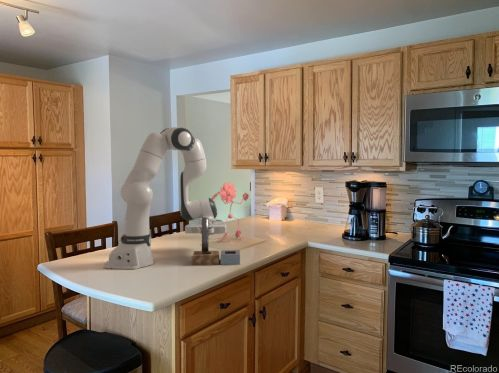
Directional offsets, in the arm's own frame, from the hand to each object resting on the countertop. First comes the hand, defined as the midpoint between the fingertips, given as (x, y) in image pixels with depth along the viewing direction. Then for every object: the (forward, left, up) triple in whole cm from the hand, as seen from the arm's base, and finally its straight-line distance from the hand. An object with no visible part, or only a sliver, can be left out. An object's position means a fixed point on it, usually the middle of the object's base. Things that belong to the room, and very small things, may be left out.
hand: (204, 231), depth 181 cm
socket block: (+12, +1, -15) cm, 19 cm away
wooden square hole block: (0, +1, -15) cm, 15 cm away
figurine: (+10, +51, -15) cm, 54 cm away
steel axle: (0, +1, -10) cm, 10 cm away
